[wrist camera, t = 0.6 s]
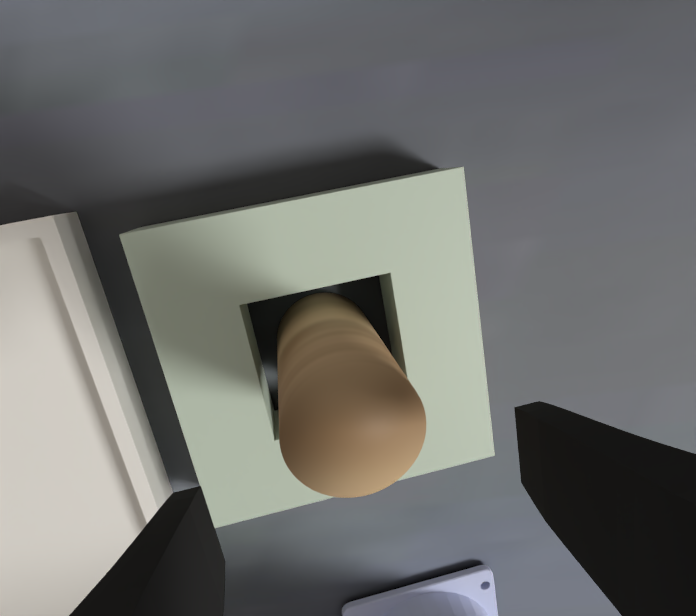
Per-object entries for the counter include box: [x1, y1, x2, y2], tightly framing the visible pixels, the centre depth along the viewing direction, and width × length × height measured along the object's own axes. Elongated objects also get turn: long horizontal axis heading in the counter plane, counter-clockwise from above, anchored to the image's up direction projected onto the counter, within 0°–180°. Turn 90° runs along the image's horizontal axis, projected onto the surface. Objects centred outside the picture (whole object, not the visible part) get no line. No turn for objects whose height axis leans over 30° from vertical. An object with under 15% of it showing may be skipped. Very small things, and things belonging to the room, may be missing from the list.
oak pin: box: [277, 293, 426, 498], centre depth 16 cm, size 4×4×8 cm
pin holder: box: [119, 167, 495, 528], centre depth 19 cm, size 12×12×2 cm
